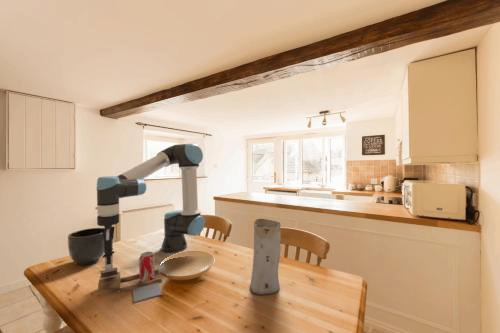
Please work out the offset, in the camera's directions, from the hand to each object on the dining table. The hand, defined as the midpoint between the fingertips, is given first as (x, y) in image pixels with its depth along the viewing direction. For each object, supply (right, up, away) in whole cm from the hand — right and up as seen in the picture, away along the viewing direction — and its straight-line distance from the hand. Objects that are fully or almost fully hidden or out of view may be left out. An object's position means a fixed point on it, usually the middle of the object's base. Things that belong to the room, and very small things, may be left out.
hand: (108, 270), depth 90 cm
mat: (+16, -9, 0) cm, 18 cm away
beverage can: (+11, -9, +9) cm, 17 cm away
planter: (-29, -9, +28) cm, 42 cm away
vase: (+65, -9, +2) cm, 65 cm away
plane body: (+6, -9, +6) cm, 12 cm away
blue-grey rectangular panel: (-1, -3, +2) cm, 3 cm away
